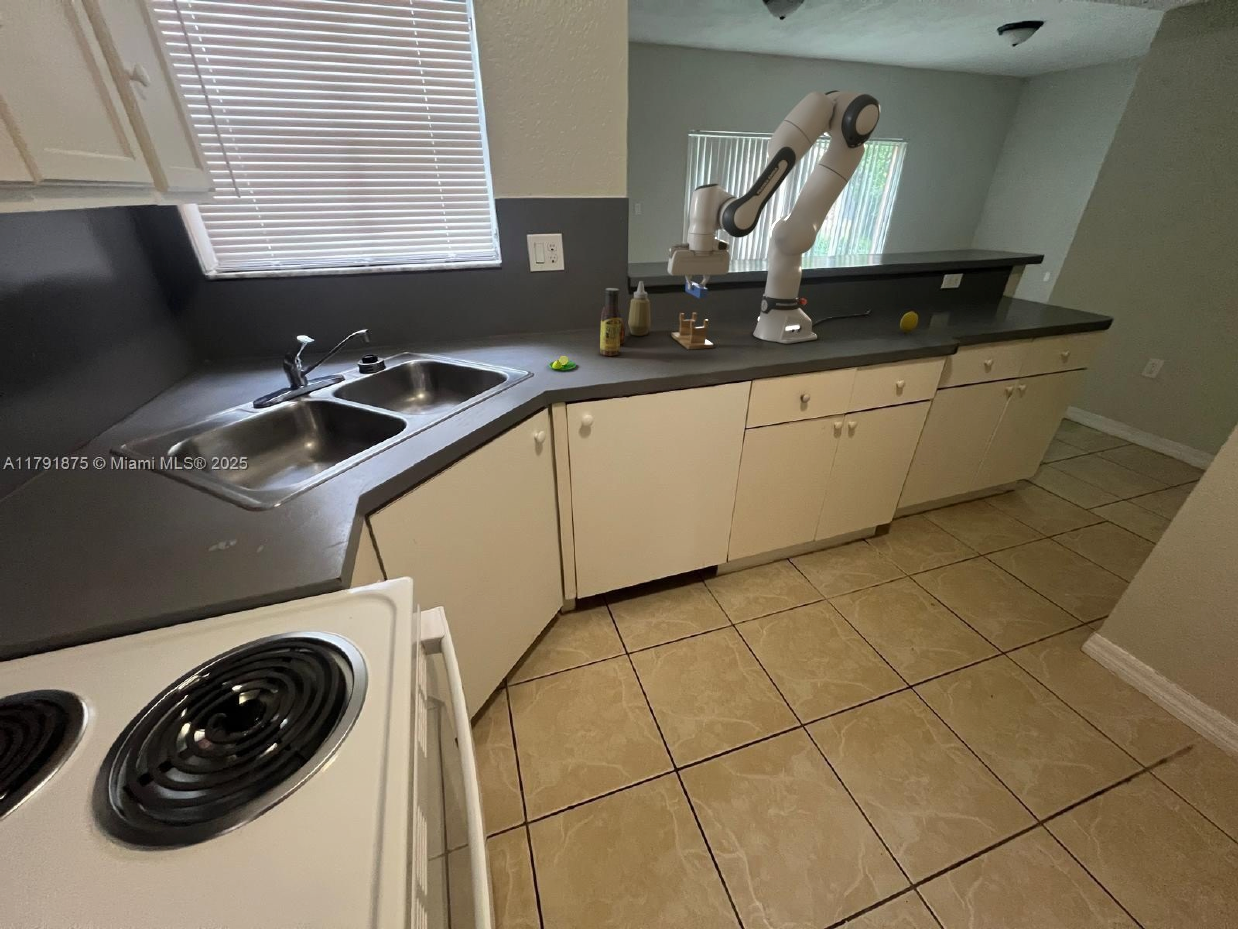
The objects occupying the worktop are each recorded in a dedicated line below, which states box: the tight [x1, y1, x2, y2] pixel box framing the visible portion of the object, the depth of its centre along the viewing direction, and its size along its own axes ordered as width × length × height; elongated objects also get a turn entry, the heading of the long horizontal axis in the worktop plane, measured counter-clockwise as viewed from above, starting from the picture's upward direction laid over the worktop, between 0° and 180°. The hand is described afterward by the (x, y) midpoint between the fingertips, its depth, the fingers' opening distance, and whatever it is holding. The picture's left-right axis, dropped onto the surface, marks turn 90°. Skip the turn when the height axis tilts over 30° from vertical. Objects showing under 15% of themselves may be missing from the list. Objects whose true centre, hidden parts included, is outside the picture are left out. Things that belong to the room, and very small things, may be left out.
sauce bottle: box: [599, 287, 622, 357], centre depth 150 cm, size 7×6×20 cm
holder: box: [670, 312, 715, 350], centre depth 166 cm, size 16×9×9 cm, turn 16°
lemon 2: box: [548, 355, 577, 372], centre depth 143 cm, size 8×8×3 cm
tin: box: [620, 318, 627, 345], centre depth 165 cm, size 15×3×8 cm, turn 20°
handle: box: [684, 280, 709, 300], centre depth 159 cm, size 12×3×3 cm, turn 15°
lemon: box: [899, 311, 919, 334], centre depth 181 cm, size 6×6×8 cm
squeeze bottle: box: [627, 280, 652, 337], centre depth 171 cm, size 8×8×18 cm
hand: (696, 289), depth 159 cm, fingers closed on handle, 2 cm apart
